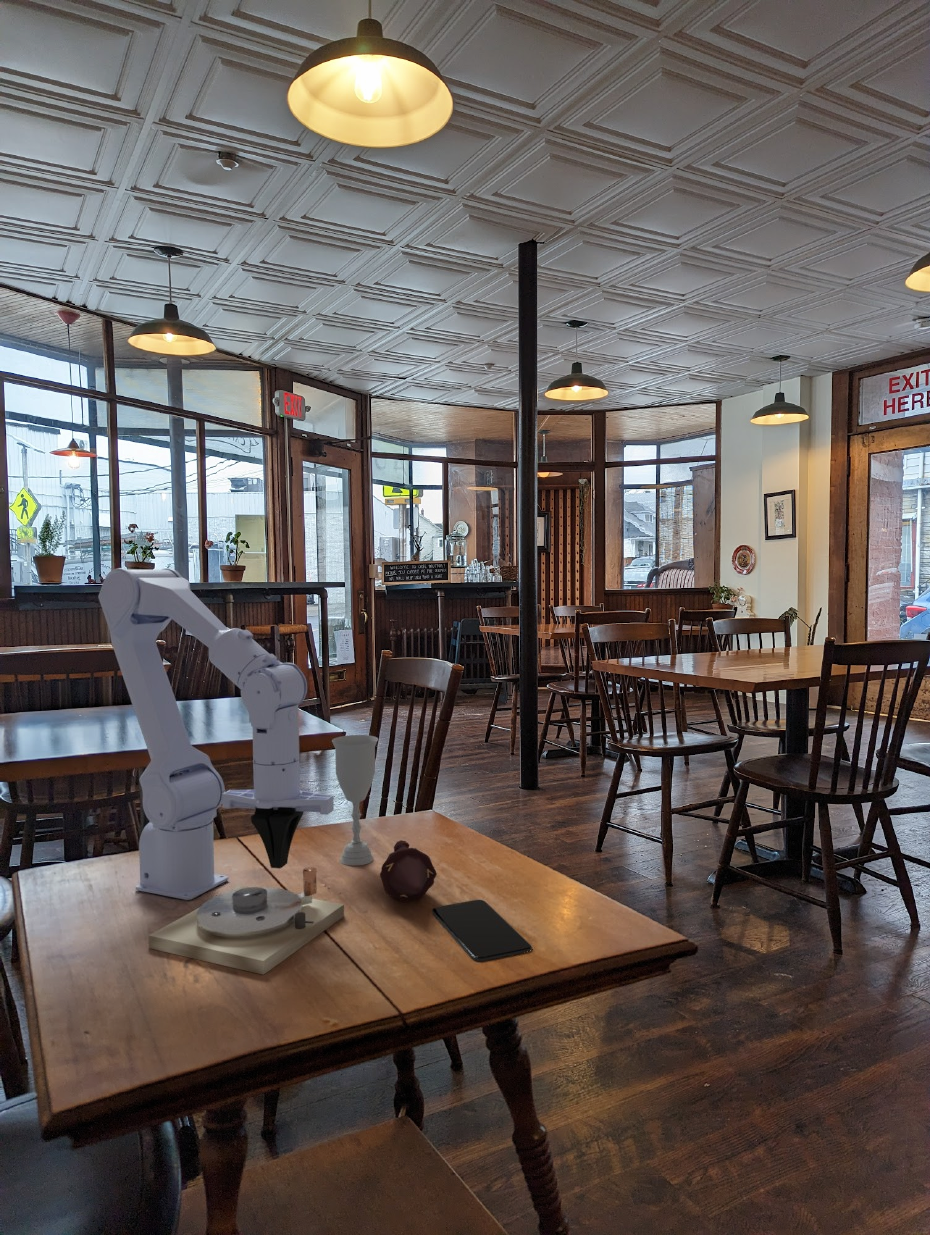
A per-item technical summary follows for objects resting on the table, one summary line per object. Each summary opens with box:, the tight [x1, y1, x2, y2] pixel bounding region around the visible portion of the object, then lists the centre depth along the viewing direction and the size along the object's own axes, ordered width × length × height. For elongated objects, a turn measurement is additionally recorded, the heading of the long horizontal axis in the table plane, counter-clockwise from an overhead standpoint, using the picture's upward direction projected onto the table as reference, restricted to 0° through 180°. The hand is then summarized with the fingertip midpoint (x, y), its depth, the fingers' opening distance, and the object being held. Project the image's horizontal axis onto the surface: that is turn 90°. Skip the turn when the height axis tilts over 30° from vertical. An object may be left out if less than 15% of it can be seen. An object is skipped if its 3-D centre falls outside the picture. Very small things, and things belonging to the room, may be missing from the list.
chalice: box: [331, 734, 379, 867], centre depth 121 cm, size 7×7×18 cm
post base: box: [148, 885, 345, 976], centre depth 97 cm, size 16×16×3 cm
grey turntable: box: [197, 866, 318, 938], centre depth 97 cm, size 14×12×4 cm
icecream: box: [379, 840, 438, 903], centre depth 106 cm, size 7×7×15 cm
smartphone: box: [431, 899, 533, 963], centre depth 97 cm, size 7×1×15 cm
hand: (279, 865), depth 104 cm, fingers closed
